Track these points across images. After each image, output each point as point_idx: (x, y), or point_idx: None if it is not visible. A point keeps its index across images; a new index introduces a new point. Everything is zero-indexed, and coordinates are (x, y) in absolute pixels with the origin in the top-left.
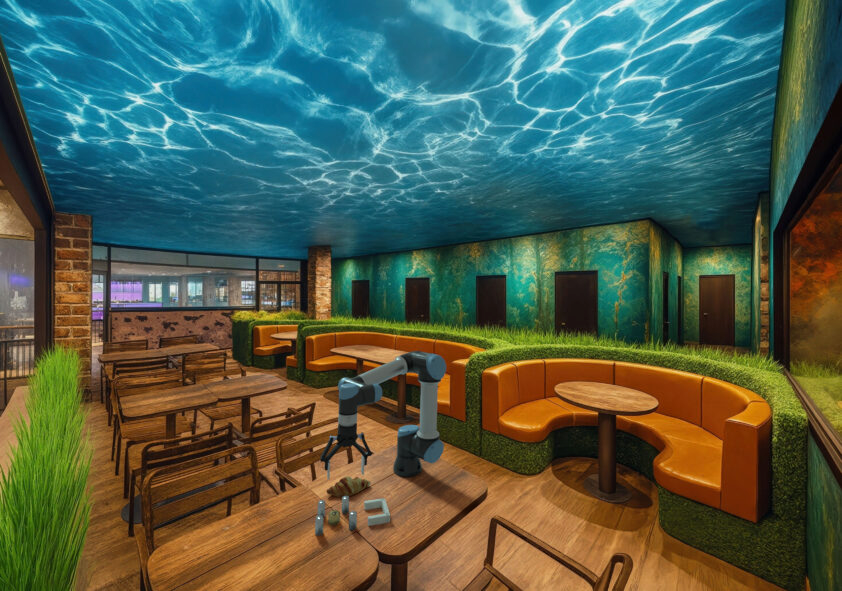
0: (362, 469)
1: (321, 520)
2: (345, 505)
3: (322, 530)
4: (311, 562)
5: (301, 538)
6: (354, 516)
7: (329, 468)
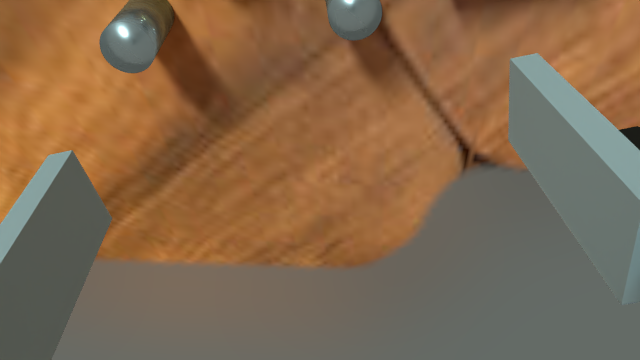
0: (538, 181)
1: (149, 64)
2: None
3: (169, 29)
4: (182, 189)
5: (66, 50)
6: (364, 33)
7: (59, 325)
